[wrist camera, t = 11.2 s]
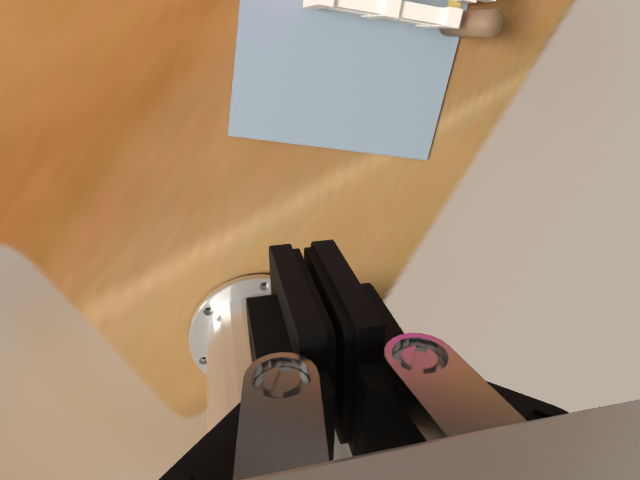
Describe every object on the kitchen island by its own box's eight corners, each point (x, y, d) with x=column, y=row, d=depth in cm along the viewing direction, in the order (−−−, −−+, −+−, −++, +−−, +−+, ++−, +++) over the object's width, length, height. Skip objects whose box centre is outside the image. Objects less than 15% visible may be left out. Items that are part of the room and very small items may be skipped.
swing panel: (433, 11, 36) (466, 9, 31) (429, 28, 36) (461, 29, 32) (304, -12, 33) (320, -18, 28) (302, 7, 33) (318, 4, 29)
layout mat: (425, 159, 41) (427, 160, 41) (227, 134, 36) (228, 136, 36) (479, -44, 35) (482, -45, 35) (249, -106, 30) (250, -108, 30)
